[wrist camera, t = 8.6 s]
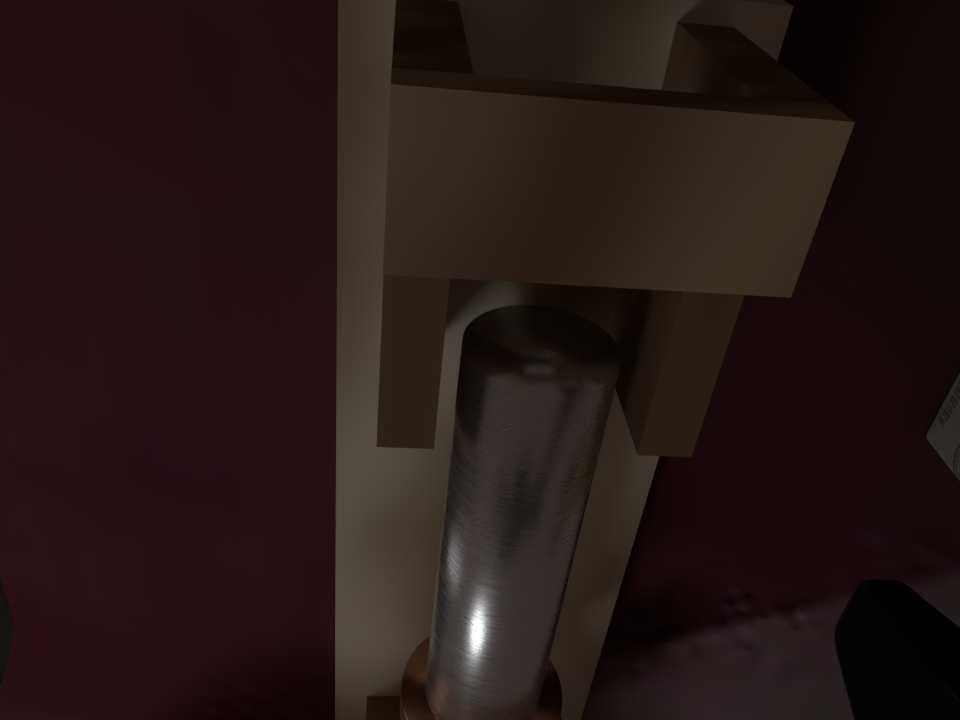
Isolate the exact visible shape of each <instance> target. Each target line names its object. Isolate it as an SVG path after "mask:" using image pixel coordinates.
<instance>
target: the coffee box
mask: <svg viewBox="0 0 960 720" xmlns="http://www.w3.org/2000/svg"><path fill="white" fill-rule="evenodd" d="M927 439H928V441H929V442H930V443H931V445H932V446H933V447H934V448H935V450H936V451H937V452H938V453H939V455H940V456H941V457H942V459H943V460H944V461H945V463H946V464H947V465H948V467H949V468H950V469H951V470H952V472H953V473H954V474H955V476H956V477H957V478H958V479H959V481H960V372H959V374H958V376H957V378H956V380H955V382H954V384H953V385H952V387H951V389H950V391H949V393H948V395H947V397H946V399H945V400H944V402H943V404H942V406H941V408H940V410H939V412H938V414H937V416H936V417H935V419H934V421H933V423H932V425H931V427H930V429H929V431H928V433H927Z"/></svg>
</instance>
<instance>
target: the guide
mask: <svg viewBox="0 0 960 720" xmlns="http://www.w3.org/2000/svg"><path fill="white" fill-rule="evenodd" d="M793 7H794V6H793V5H791V4H789V3H788V2H786V1H784V0H338V197H337V413H336V629H335V720H400V697H401V685H402V677H403V673H404V669H405V667H406V664H407V662H408V660H409V658H410V656H411V655H412V653H413V652H414V650H415V649H416V648H417V647H418V646H419V645H420V644H421V643H422V642H423V641H424V640H425V639H426V638H427V637H429V636H430V635H431V626H432V616H433V607H434V598H435V588H436V579H437V570H438V561H439V551H440V542H441V533H442V524H443V514H444V505H445V496H446V486H447V477H448V468H449V459H450V449H451V440H452V431H453V422H454V412H455V403H456V394H457V384H458V375H459V366H460V357H461V347H462V338H463V334H464V331H465V329H466V327H467V326H468V325H469V323H470V322H471V321H472V320H474V319H475V318H476V317H478V316H479V315H481V314H483V313H485V312H487V311H490V310H493V309H496V308H500V307H505V306H513V305H538V306H546V307H552V308H557V309H561V310H564V311H568V312H571V313H574V314H576V315H579V316H581V317H583V318H586V319H588V320H589V321H591V322H593V323H595V324H596V325H598V326H599V327H601V328H602V329H603V330H604V331H606V332H607V333H608V334H609V335H610V336H611V337H612V338H613V340H614V341H615V343H616V344H617V346H618V348H619V350H620V354H621V365H620V369H619V373H618V377H617V382H616V386H615V390H614V394H613V398H612V402H611V406H610V410H609V414H608V419H607V423H606V427H605V431H604V435H603V439H602V443H601V447H600V452H599V456H598V460H597V464H596V468H595V472H594V476H593V480H592V484H591V489H590V493H589V497H588V501H587V505H586V509H585V513H584V517H583V521H582V526H581V530H580V534H579V538H578V542H577V546H576V550H575V554H574V559H573V563H572V567H571V571H570V575H569V579H568V583H567V587H566V591H565V596H564V600H563V604H562V608H561V612H560V616H559V620H558V624H557V628H556V633H555V637H554V641H553V645H552V649H551V653H550V657H549V659H550V661H551V662H552V664H553V666H554V668H555V670H556V672H557V674H558V677H559V680H560V684H561V688H562V710H561V715H560V719H559V720H581V717H582V714H583V710H584V707H585V704H586V700H587V697H588V694H589V690H590V687H591V683H592V680H593V677H594V673H595V670H596V667H597V663H598V660H599V657H600V653H601V650H602V647H603V643H604V640H605V637H606V633H607V630H608V626H609V623H610V620H611V616H612V613H613V610H614V606H615V603H616V600H617V596H618V593H619V590H620V586H621V583H622V580H623V576H624V573H625V570H626V566H627V563H628V559H629V556H630V553H631V549H632V546H633V543H634V539H635V536H636V533H637V529H638V526H639V523H640V519H641V516H642V513H643V509H644V506H645V503H646V499H647V496H648V492H649V489H650V486H651V482H652V479H653V476H654V472H655V469H656V466H657V462H658V459H659V456H670V457H691V456H692V453H693V450H694V447H695V444H696V441H697V438H698V435H699V432H700V429H701V426H702V423H703V420H704V417H705V414H706V411H707V408H708V405H709V401H710V398H711V395H712V392H713V389H714V386H715V383H716V380H717V377H718V374H719V371H720V368H721V365H722V362H723V359H724V356H725V353H726V350H727V347H728V343H729V340H730V337H731V334H732V331H733V328H734V325H735V322H736V319H737V316H738V313H739V310H740V307H741V304H742V301H743V298H744V295H757V296H775V297H791V296H792V293H793V290H794V287H795V285H796V282H797V279H798V276H799V274H800V271H801V268H802V266H803V263H804V260H805V257H806V255H807V252H808V249H809V246H810V244H811V241H812V238H813V235H814V233H815V230H816V227H817V224H818V222H819V219H820V216H821V214H822V211H823V208H824V205H825V203H826V200H827V197H828V194H829V192H830V189H831V186H832V183H833V181H834V178H835V175H836V172H837V170H838V167H839V164H840V161H841V159H842V156H843V153H844V151H845V148H846V145H847V142H848V140H849V137H850V134H851V131H852V129H853V126H854V123H855V122H854V121H853V120H852V119H850V118H849V117H848V116H846V115H845V114H844V113H843V112H841V111H840V110H839V109H838V108H836V107H835V106H834V105H832V104H831V103H830V102H829V101H827V100H826V99H825V98H824V97H822V96H821V95H820V94H818V93H817V92H816V91H815V90H813V89H812V88H811V87H810V86H808V85H807V84H806V83H804V82H803V81H802V80H801V79H799V78H798V77H797V76H795V75H794V74H793V73H792V72H790V71H789V70H788V69H787V68H785V67H784V66H783V65H781V64H780V63H779V62H778V61H777V60H778V57H779V54H780V50H781V47H782V43H783V40H784V37H785V33H786V30H787V27H788V23H789V20H790V17H791V13H792V10H793Z"/></svg>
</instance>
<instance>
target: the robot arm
mask: <svg viewBox="0 0 960 720" xmlns="http://www.w3.org/2000/svg"><path fill="white" fill-rule="evenodd" d="M13 635H14V621H13V617H12V614H11V611H10V608H9V605H8V602H7V599H6V596H5V593H4V590H3V587H2V584H1V581H0V683H1V680H2V676H3V673H4V669H5V666H6V663H7V659H8V656H9V652H10V649H11V645H12V641H13ZM834 643H835V649H836V653H837V657H838V660H839V664H840V668H841V672H842V675H843V679H844V683H845V686H846V690H847V694H848V697H849V701H850V705H851V709H852V712H853V716H854V720H960V628H959V627H958V626H957V625H955V624H954V623H953V622H952V621H950V620H949V619H948V618H947V617H946V616H944V615H943V614H942V613H941V612H939V611H938V610H937V609H936V608H934V607H933V606H932V605H931V604H929V603H928V602H927V601H926V600H925V599H923V598H922V597H921V596H920V595H918V594H917V593H916V592H915V591H913V590H912V589H911V588H910V587H908V586H907V585H905V584H904V583H902V582H899V581H896V580H864V581H863V582H861V583H860V584H858V586H857V587H856V589H855V591H854V592H853V594H852V596H851V598H850V600H849V602H848V604H847V605H846V607H845V609H844V611H843V613H842V615H841V616H840V618H839V620H838V622H837V624H836V627H835V632H834Z"/></svg>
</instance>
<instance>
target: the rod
mask: <svg viewBox="0 0 960 720" xmlns="http://www.w3.org/2000/svg"><path fill="white" fill-rule="evenodd" d="M620 365H621V354H620V350H619V348H618V346H617V344H616V343H615V341H614V340H613V338H612V337H611V336H610V335H609V334H608V333H607V332H606V331H604V330H603V329H602V328H601V327H599V326H598V325H596V324H595V323H593V322H591V321H589V320H588V319H586V318H583V317H581V316H579V315H576V314H574V313H571V312H568V311H564V310H561V309H557V308H552V307H546V306H538V305H513V306H505V307H500V308H496V309H493V310H490V311H487V312H485V313H483V314H481V315H479V316H478V317H476V318H475V319H474V320H472V321H471V322H470V323H469V325H468V326H467V327H466V329H465V331H464V334H463V338H462V347H461V357H460V366H459V375H458V384H457V394H456V403H455V412H454V422H453V431H452V440H451V449H450V459H449V468H448V477H447V486H446V496H445V505H444V514H443V524H442V533H441V542H440V551H439V561H438V570H437V579H436V588H435V598H434V607H433V616H432V626H431V635H430V636H429V637H427V638H426V639H425V640H424V641H423V642H422V643H421V644H420V645H419V646H418V647H417V648H416V649H415V650H414V652H413V653H412V655H411V656H410V658H409V660H408V662H407V664H406V667H405V669H404V673H403V677H402V685H401V697H400V720H559V719H560V715H561V710H562V688H561V684H560V680H559V677H558V674H557V672H556V670H555V668H554V666H553V664H552V662H551V661H550V659H549V657H550V653H551V649H552V645H553V641H554V637H555V633H556V628H557V624H558V620H559V616H560V612H561V608H562V604H563V600H564V596H565V591H566V587H567V583H568V579H569V575H570V571H571V567H572V563H573V559H574V554H575V550H576V546H577V542H578V538H579V534H580V530H581V526H582V521H583V517H584V513H585V509H586V505H587V501H588V497H589V493H590V489H591V484H592V480H593V476H594V472H595V468H596V464H597V460H598V456H599V452H600V447H601V443H602V439H603V435H604V431H605V427H606V423H607V419H608V414H609V410H610V406H611V402H612V398H613V394H614V390H615V386H616V382H617V377H618V373H619V369H620Z"/></svg>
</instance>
